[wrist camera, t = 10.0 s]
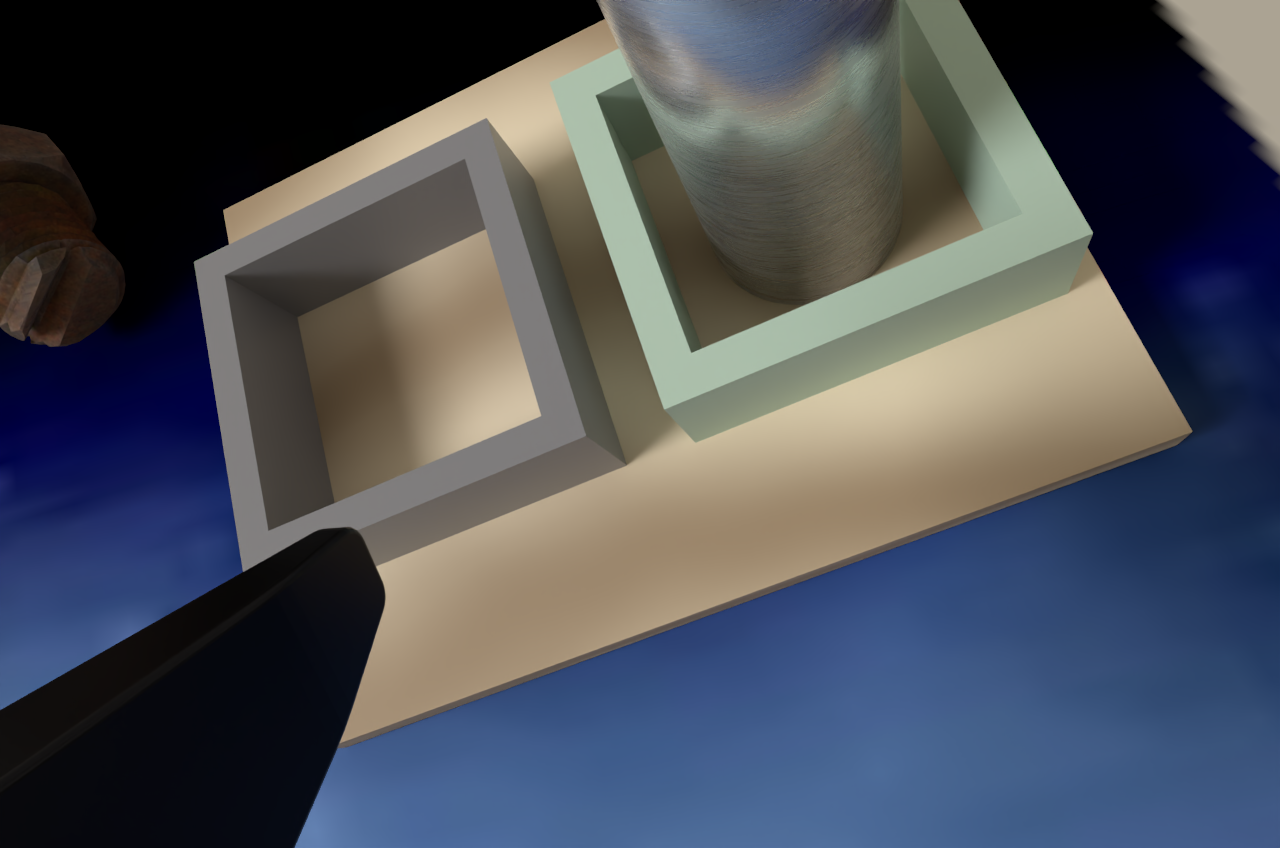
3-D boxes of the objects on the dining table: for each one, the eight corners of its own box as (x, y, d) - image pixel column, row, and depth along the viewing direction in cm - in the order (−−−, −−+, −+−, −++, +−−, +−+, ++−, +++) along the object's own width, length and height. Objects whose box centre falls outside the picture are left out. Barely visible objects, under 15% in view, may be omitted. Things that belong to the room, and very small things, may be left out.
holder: (627, 465, 18) (586, 436, 16) (322, 587, 20) (244, 577, 17) (533, 179, 21) (486, 117, 19) (268, 304, 22) (194, 261, 20)
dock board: (1176, 445, 16) (1192, 432, 16) (346, 747, 20) (318, 750, 19) (879, -84, 21) (878, -118, 20) (249, 228, 24) (223, 209, 23)
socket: (1067, 293, 17) (1093, 233, 14) (695, 442, 18) (664, 409, 16) (905, -2, 19) (904, -94, 17) (589, 148, 21) (549, 82, 18)
